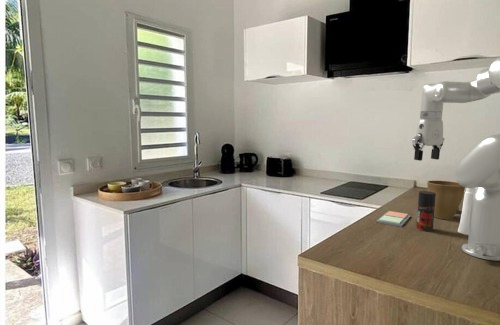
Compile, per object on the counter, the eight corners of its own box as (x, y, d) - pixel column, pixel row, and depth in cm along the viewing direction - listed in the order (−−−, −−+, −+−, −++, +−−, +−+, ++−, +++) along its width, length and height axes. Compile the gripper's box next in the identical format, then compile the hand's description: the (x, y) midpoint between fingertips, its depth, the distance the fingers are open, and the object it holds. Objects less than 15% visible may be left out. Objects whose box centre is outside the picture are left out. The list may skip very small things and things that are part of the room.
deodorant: (412, 227, 133) (415, 191, 131) (423, 226, 135) (426, 190, 133) (425, 232, 128) (428, 194, 126) (436, 230, 130) (439, 193, 128)
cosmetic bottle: (478, 233, 127) (483, 177, 124) (473, 236, 123) (478, 179, 120) (460, 229, 131) (465, 175, 129) (455, 232, 127) (460, 177, 125)
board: (401, 226, 134) (401, 223, 134) (376, 222, 140) (376, 219, 139) (410, 217, 148) (410, 214, 148) (387, 213, 154) (387, 210, 154)
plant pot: (467, 223, 139) (470, 187, 137) (427, 220, 144) (430, 184, 142) (457, 214, 153) (460, 181, 151) (422, 211, 158) (424, 179, 156)
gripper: (424, 116, 120) (419, 162, 123) (454, 116, 127) (449, 160, 130) (407, 115, 127) (403, 159, 129) (436, 116, 134) (432, 157, 137)
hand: (426, 159), depth 130 cm, fingers open, 9 cm apart
